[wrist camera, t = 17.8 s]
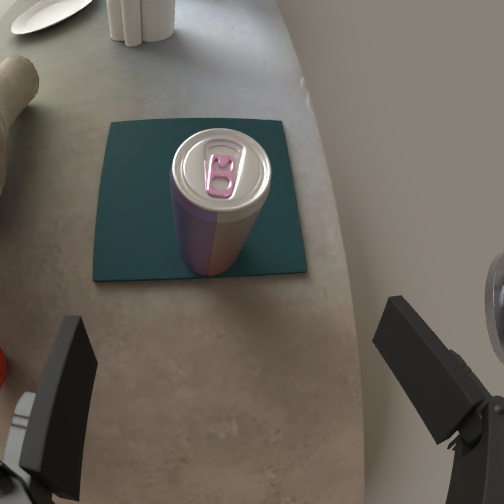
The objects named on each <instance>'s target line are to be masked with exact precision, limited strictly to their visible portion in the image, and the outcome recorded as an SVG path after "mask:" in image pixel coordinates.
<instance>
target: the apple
mask: <svg viewBox="0 0 504 504" xmlns="http://www.w3.org/2000/svg"><path fill="white" fill-rule="evenodd" d="M6 370H7V363H6V358H5V355H4V353H3V352H2V350H1V348H0V388H1V387H2V385H3V383H4V380H5V377H6Z"/></svg>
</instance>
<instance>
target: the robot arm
mask: <svg viewBox="0 0 504 504" xmlns="http://www.w3.org/2000/svg"><path fill="white" fill-rule="evenodd" d="M372 341H373V343H374V344H375V346H376V347H377V349H378V350H379V352H380V353H381V355H382V357H383V358H384V360H385V361H386V363H387V364H388V366H389V367H390V369H391V370H392V372H393V374H394V375H395V377H396V378H397V380H398V381H399V383H400V384H401V386H402V388H403V389H404V391H405V392H406V394H407V395H408V397H409V399H410V400H411V402H412V404H413V405H414V407H415V408H416V410H417V412H418V413H419V415H420V417H421V418H422V420H423V421H424V423H425V425H426V427H427V428H428V430H429V431H430V433H431V435H432V437H433V438H434V440H435V442H436V444H437V445H438V444H440V443H441V442H443V441H445V440H447V439H449V438H450V437H451V436H452V435H453V434H454V433H455V432H456V431H457V430H458V432H459V433H460V434H459V435H458V436H457V437H456V438H455V439H454V440H453V441H452V442H451V443H450V444H449V445H448V448H447V449H450V448H451V447H452V446H453V445H454V444H455V443H456V445H455V446H454V448H453V449H452V450H454V451H455V455H454V462H453V469H452V474H451V480H450V485H449V490H448V495H447V500H446V504H504V398H503V397H501V396H494V397H492V396H491V395H490V393H489V392H488V391H487V389H486V388H485V387H484V386H483V384H482V383H481V382H480V380H479V379H478V378H477V377H476V375H475V374H474V373H473V372H472V370H471V369H470V368H469V366H467V364H466V363H465V361H464V360H463V359H462V358H461V356H460V355H458V354H457V353H455V352H454V351H453V350H448V349H447V348H446V346H445V345H444V344H443V343H442V342H441V340H440V339H439V338H438V337H437V336H436V335H435V333H434V332H433V331H432V330H431V329H430V327H428V325H427V324H426V323H425V322H424V320H423V319H422V318H421V317H420V316H419V315H418V314H417V312H416V311H415V310H414V309H413V308H412V307H411V306H410V304H409V303H408V302H407V301H406V300H405V299H404V298H403V297H402V296H401V295H400V296H393V297H389V298H388V301H387V304H386V306H385V309H384V312H383V315H382V317H381V320H380V323H379V325H378V328H377V330H376V333H375V335H374V338H373V340H372ZM97 365H98V362H97V360H96V357H95V354H94V352H93V349H92V346H91V344H90V341H89V338H88V335H87V332H86V330H85V327H84V324H83V321H82V318H81V316H64V318H63V320H62V323H61V325H60V328H59V330H58V333H57V335H56V338H55V340H54V343H53V345H52V348H51V351H50V354H49V356H48V359H47V362H46V365H45V368H44V370H43V373H42V376H41V379H40V382H39V386H38V389H37V392H36V393H33V392H26V391H25V393H24V394H23V395H22V396H21V398H20V399H19V400H18V402H17V405H16V408H15V411H14V416H13V418H12V421H11V426H10V428H9V432H8V436H7V440H6V444H5V448H4V452H3V457H2V460H0V504H55V503H54V502H53V501H52V493H54V494H55V495H57V496H58V497H59V498H64V499H69V500H74V501H79V493H80V479H81V467H82V457H83V448H84V440H85V433H86V426H87V419H88V413H89V407H90V401H91V395H92V390H93V385H94V380H95V375H96V370H97Z"/></svg>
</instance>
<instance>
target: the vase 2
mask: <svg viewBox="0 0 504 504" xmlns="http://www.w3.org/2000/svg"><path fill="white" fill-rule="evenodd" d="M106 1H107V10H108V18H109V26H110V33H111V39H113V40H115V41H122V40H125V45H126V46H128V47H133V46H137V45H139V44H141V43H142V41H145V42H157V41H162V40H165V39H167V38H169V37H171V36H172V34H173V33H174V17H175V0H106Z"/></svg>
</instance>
